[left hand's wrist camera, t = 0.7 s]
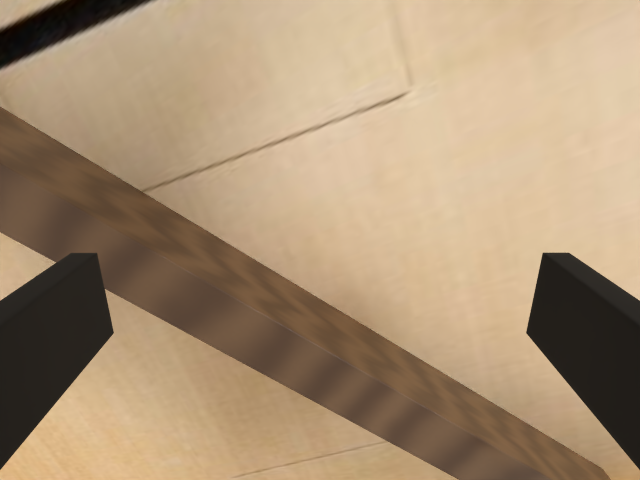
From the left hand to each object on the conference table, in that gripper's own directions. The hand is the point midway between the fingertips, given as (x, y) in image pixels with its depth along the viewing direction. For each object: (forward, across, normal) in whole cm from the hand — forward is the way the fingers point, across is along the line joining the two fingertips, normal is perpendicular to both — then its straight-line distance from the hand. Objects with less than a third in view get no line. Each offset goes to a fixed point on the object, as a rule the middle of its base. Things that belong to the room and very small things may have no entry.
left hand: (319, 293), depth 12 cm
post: (+25, -1, -17) cm, 30 cm away
